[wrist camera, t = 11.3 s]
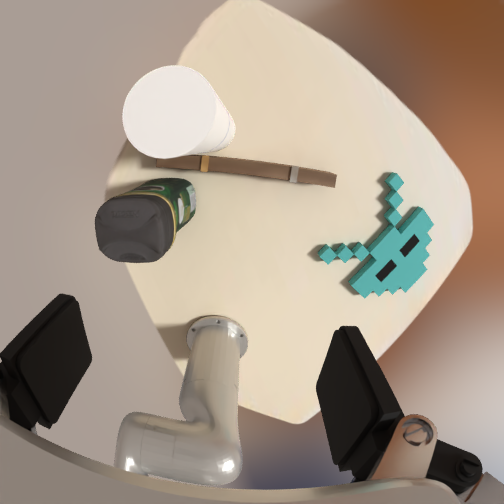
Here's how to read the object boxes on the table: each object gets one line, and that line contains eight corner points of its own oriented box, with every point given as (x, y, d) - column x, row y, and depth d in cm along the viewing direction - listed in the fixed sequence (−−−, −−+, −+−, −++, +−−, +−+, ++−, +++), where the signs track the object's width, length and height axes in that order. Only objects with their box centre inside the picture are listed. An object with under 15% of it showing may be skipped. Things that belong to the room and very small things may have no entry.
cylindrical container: (211, 160, 42) (164, 178, 19) (181, 130, 40) (105, 116, 17) (244, 130, 40) (237, 109, 17) (214, 99, 38) (172, 48, 15)
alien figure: (316, 252, 49) (378, 309, 53) (319, 256, 46) (382, 315, 51) (391, 172, 43) (441, 242, 48) (396, 173, 41) (447, 246, 46)
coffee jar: (145, 223, 46) (93, 268, 29) (142, 178, 43) (83, 201, 26) (198, 223, 46) (169, 271, 29) (197, 176, 43) (163, 197, 26)
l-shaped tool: (327, 185, 44) (334, 189, 40) (163, 166, 42) (155, 168, 38) (336, 125, 40) (345, 123, 36) (169, 105, 39) (162, 102, 35)
